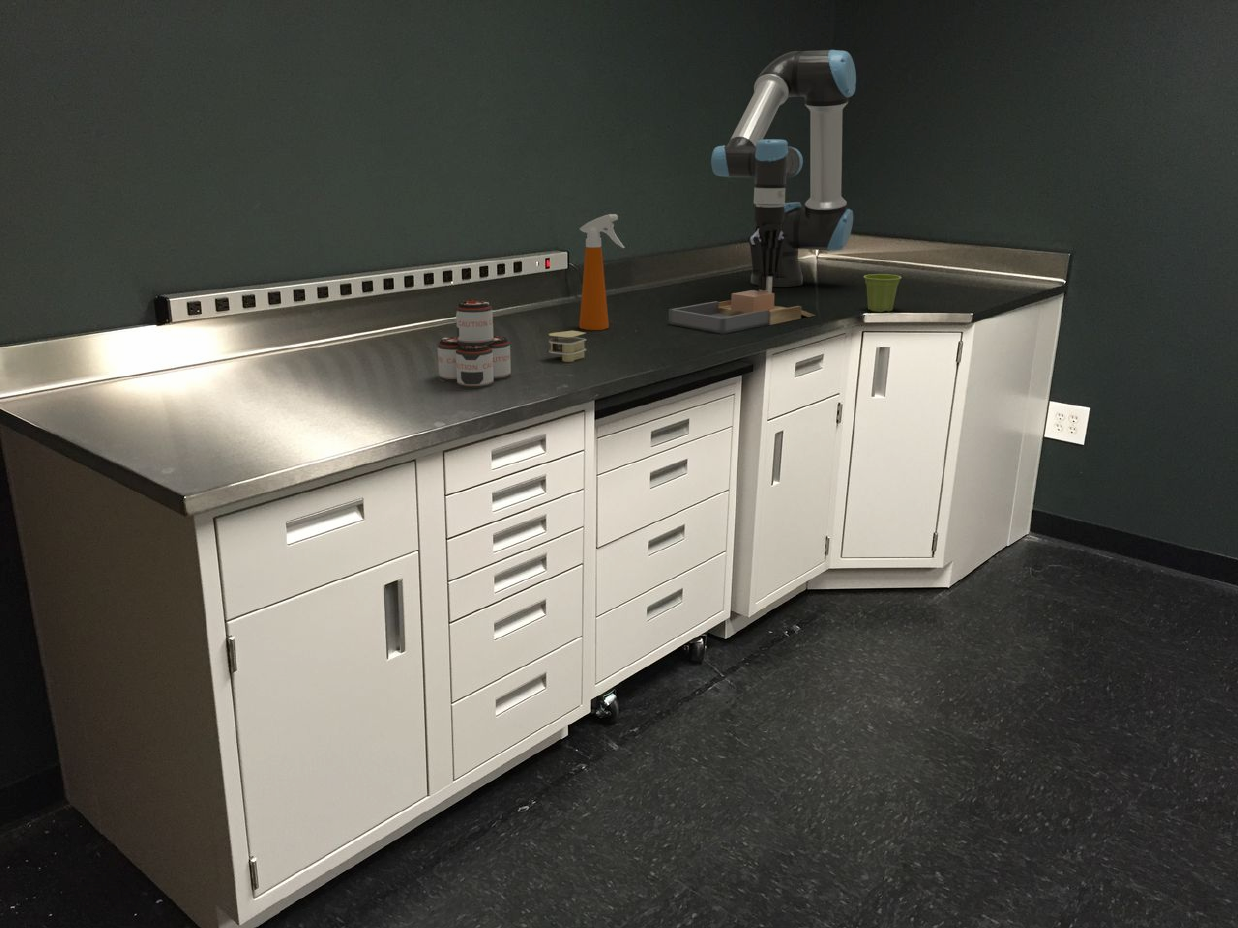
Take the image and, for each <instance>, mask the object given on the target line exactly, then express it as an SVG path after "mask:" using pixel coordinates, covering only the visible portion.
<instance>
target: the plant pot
mask: <svg viewBox="0 0 1238 928" xmlns="http://www.w3.org/2000/svg"><path fill="white" fill-rule="evenodd" d="M863 279H864V280H865V281H864V282H865V285H866V296H867V297H866V299H867V310H868V311H871V312H879V313H883V312H891V311H893V309H894V304H895V298H896V294H897V289H898V286H899V284H900V280H901V279H902V276H900V275H896V274H887V273H877V274H876V273H874V274H865V275H864V276H863Z"/></svg>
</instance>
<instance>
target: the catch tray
mask: <svg viewBox="0 0 1238 928" xmlns="http://www.w3.org/2000/svg"><path fill="white" fill-rule="evenodd" d="M719 302H720V301H710V302H704V303H698V304H693V305H687V306H682V307H676V308H670V309H668V324H669V325H672V326H676V327H678V326H679V327H683V328H688V329H693V330H697V331H698V330H699V331H704V332H710V333H714V334H720V335H724V334H725V335H726V334H730V333H733V332H734V333H735V332H739V331H743V330H748V329H754V328H758V327H759V328H760V327H762V326H769V311H770V310H767V309H766V310H761V311H756V312H750V313H745V314H740V315H735V316H731V315H725V314H719Z"/></svg>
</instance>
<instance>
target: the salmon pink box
mask: <svg viewBox="0 0 1238 928" xmlns="http://www.w3.org/2000/svg"><path fill="white" fill-rule="evenodd" d="M730 300H731V310H735V311H741V312H747V313H750V312H756V311H761V310H766V309H767V310H773V309H774V306H775V293H774V292H772V293H769V292H762V291H759V290H755V289H750V290H745V291H739V292H738V291H737V292H733V293H731V299H730Z"/></svg>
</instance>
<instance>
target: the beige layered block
mask: <svg viewBox="0 0 1238 928" xmlns="http://www.w3.org/2000/svg"><path fill="white" fill-rule="evenodd" d="M584 334H585V335H586V332H582V331H578V330H566V331H560V332H558V331H557V332H552V333H548V335H549V336H551V337H553V338H552V339H549V340H548V343H549V344H550V349H549V350H548V351H549V353H550V354H557V355H560V359H561V361H562V362H566V363H568V362H569V363H570V362H571V363H572V362H575V361H577V360H580V359H585V352H586V351H587V348H585V341H587V339H586V338H583V337H579V336H581V335H584Z"/></svg>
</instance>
